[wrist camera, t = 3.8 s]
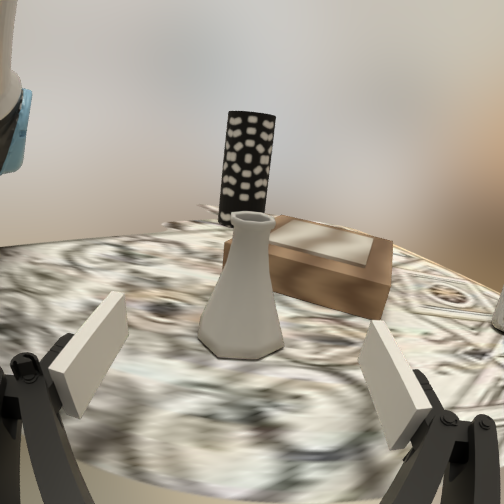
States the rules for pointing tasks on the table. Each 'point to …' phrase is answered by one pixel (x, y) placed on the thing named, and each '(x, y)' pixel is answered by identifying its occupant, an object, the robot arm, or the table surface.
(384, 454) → the table surface
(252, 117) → the white-spotted black cylinder
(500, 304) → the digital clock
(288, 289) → the walnut plinth
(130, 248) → the table surface
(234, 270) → the flask
